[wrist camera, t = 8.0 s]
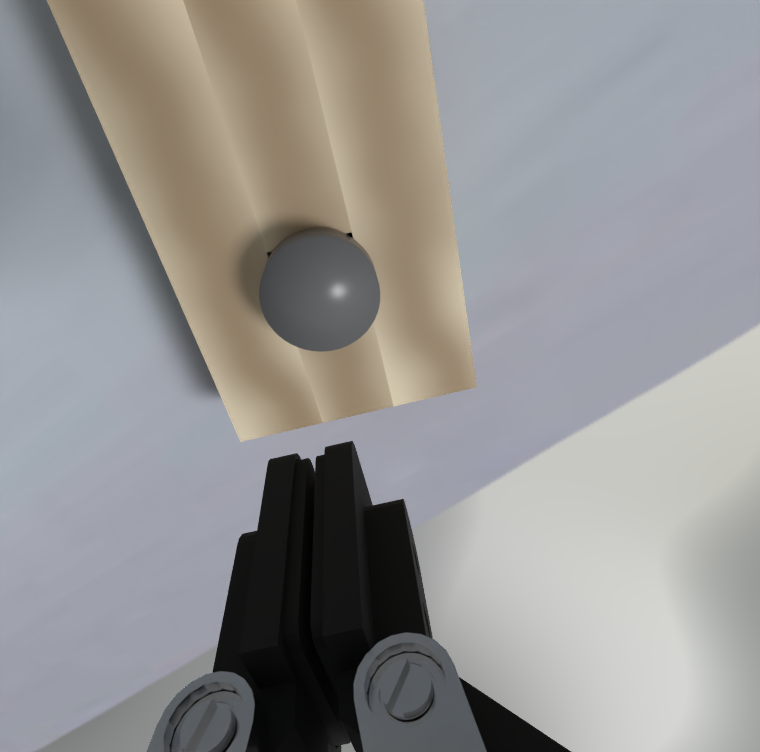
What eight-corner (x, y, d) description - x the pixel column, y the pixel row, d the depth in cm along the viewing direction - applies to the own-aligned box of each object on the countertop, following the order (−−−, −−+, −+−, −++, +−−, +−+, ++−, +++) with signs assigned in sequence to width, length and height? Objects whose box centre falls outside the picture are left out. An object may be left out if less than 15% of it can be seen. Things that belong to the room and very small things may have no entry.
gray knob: (357, 195, 24) (365, 224, 20) (378, 290, 27) (390, 336, 22) (257, 219, 24) (241, 254, 20) (287, 312, 27) (280, 362, 22)
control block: (330, -487, 15) (332, -653, 12) (458, 350, 29) (476, 387, 26) (-66, -379, 15) (-178, -510, 12) (250, 398, 30) (240, 441, 26)
